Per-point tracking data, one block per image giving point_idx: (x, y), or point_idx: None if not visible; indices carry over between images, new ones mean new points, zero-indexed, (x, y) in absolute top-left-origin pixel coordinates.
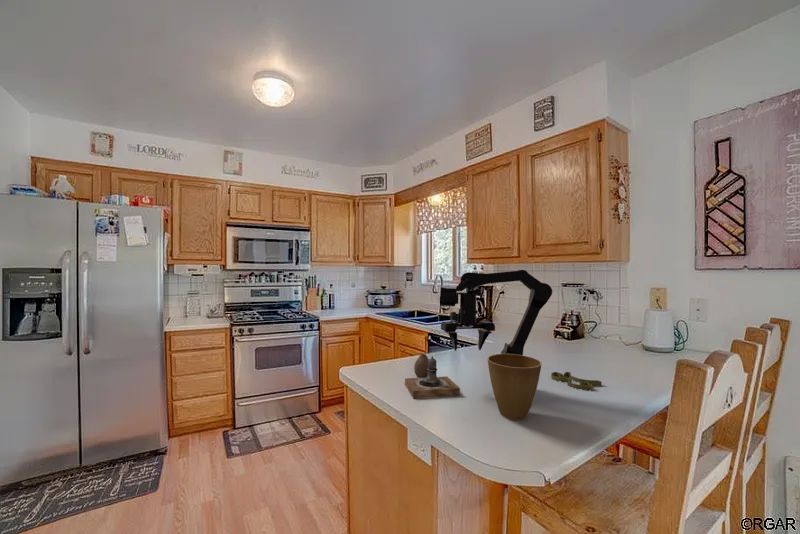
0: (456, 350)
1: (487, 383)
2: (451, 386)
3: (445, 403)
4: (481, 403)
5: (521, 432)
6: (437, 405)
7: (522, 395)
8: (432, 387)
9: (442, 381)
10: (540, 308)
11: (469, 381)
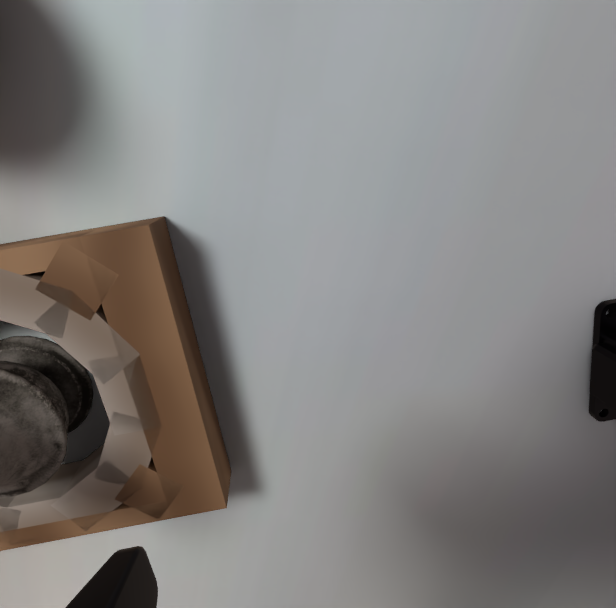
0: (156, 601)
1: (511, 214)
2: (165, 479)
3: None
4: (334, 561)
5: None
6: None
7: None
8: (13, 508)
9: (95, 373)
10: None
11: (376, 160)
